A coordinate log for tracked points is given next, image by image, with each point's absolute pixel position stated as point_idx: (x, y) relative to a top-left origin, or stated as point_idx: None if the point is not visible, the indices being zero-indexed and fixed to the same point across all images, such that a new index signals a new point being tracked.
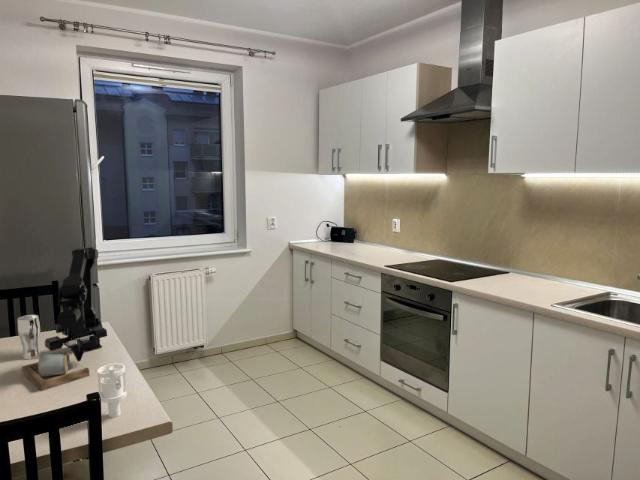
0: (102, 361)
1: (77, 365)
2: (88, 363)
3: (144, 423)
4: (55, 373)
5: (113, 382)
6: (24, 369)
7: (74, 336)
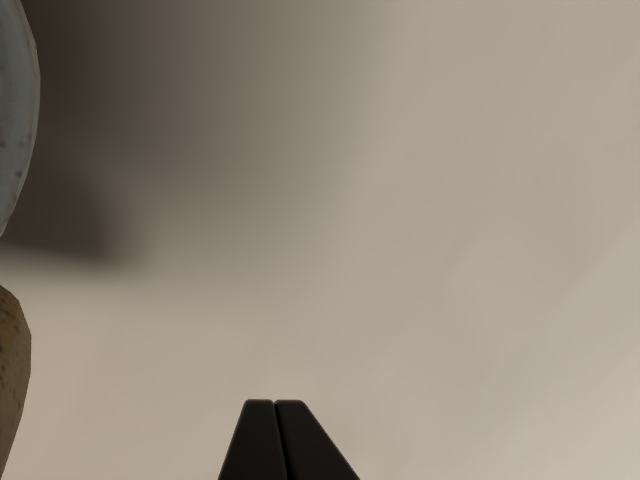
0: (604, 353)
1: (286, 200)
2: (455, 269)
3: None
4: None
5: None
6: None
7: None
